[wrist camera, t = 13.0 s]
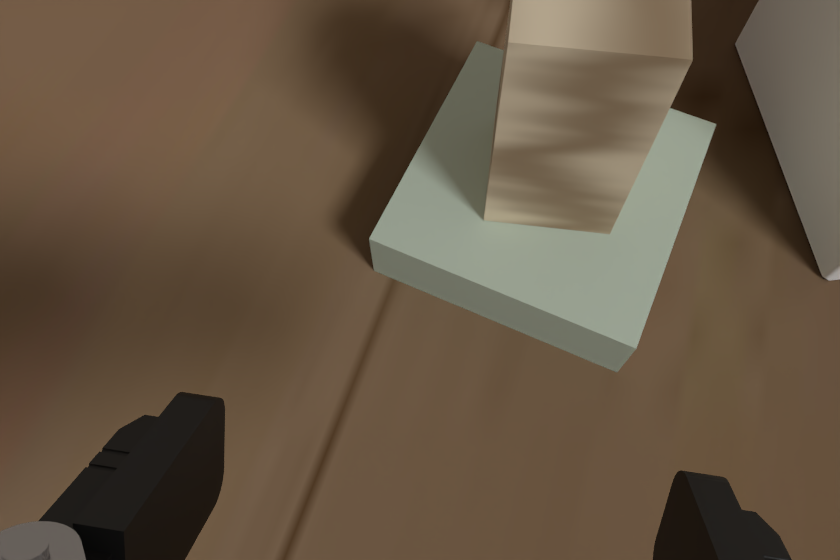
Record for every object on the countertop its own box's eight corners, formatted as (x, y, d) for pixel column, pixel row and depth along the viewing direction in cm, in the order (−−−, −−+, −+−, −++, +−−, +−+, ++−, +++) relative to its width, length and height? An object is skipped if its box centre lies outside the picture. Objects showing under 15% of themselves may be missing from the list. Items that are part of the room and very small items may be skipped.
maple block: (483, 220, 29) (508, 42, 20) (494, 118, 31) (521, -85, 22) (609, 234, 29) (692, 59, 20) (612, 130, 31) (689, -71, 22)
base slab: (374, 275, 32) (368, 238, 29) (472, 91, 36) (477, 41, 33) (614, 376, 30) (636, 348, 27) (689, 169, 34) (716, 124, 31)
